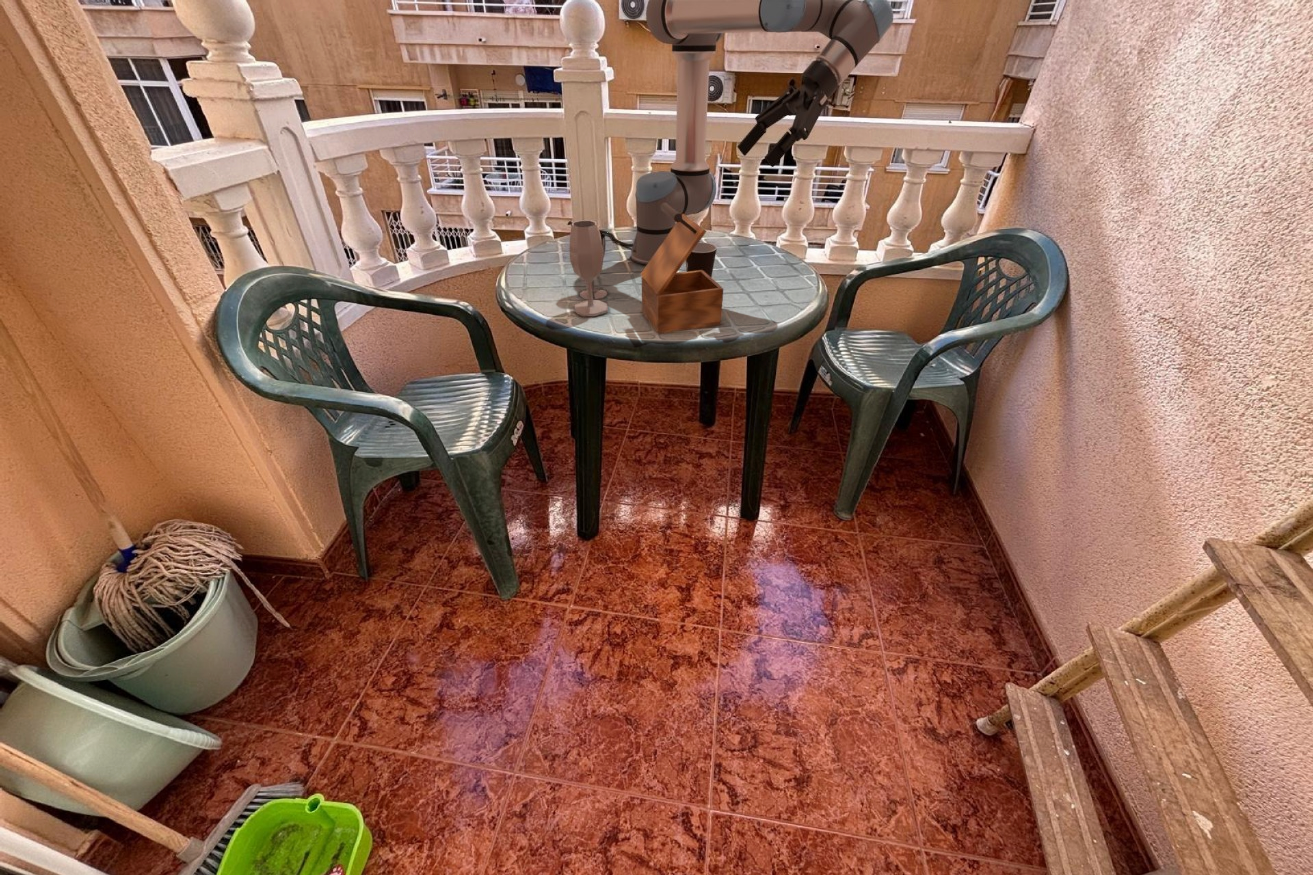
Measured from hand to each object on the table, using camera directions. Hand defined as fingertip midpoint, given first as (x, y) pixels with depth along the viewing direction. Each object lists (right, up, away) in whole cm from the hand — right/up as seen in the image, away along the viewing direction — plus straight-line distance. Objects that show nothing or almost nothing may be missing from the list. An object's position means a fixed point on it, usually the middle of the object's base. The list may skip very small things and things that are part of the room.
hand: (754, 156), depth 118 cm
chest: (-16, -33, +12) cm, 39 cm away
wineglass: (-38, -30, +16) cm, 51 cm away
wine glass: (-38, -24, +24) cm, 51 cm away
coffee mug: (-9, -19, +31) cm, 38 cm away
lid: (-18, -21, +2) cm, 28 cm away
